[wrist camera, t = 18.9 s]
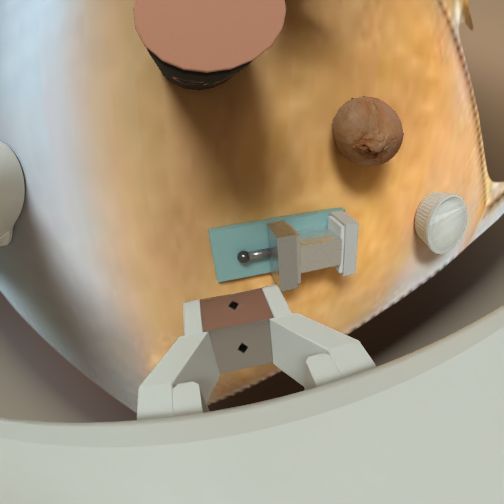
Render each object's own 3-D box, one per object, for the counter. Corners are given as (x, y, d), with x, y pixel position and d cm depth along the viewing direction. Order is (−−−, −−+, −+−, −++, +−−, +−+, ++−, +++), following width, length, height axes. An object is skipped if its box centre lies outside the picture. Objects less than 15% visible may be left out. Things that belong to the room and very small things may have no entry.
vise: (217, 278, 45) (222, 302, 40) (208, 229, 41) (212, 248, 36) (339, 253, 48) (358, 272, 43) (341, 207, 44) (361, 222, 39)
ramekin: (434, 174, 45) (454, 182, 41) (456, 209, 50) (474, 219, 45) (399, 220, 48) (418, 233, 43) (425, 252, 53) (441, 264, 48)
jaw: (239, 279, 44) (246, 298, 40) (232, 228, 41) (238, 245, 36) (290, 268, 45) (301, 287, 41) (288, 219, 42) (300, 233, 37)
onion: (331, 147, 43) (340, 184, 36) (325, 89, 36) (335, 114, 29) (390, 144, 41) (410, 180, 34) (390, 87, 34) (415, 112, 27)
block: (289, 256, 45) (301, 273, 40) (288, 231, 43) (300, 246, 38) (326, 248, 46) (340, 264, 41) (326, 224, 44) (342, 238, 39)
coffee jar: (170, 102, 33) (156, 93, 17) (147, 30, 28) (118, -26, 12) (252, 76, 33) (305, 53, 18) (229, 6, 28) (262, -60, 12)
